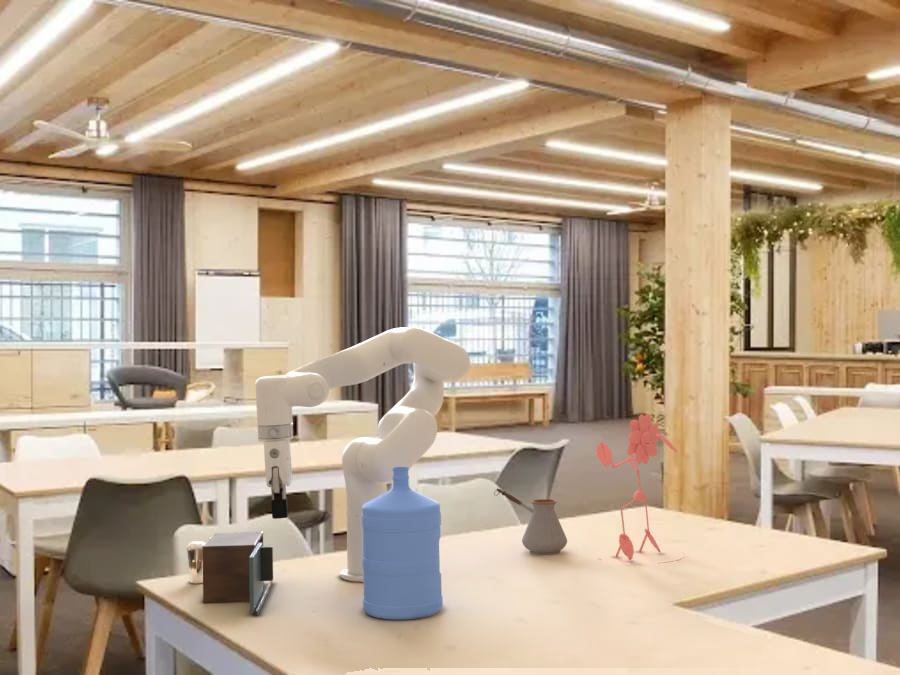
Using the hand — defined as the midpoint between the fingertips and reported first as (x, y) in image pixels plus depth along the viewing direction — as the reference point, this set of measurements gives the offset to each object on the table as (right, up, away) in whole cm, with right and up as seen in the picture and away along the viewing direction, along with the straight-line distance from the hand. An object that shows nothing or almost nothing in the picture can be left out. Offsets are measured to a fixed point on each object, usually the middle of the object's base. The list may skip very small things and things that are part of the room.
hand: (280, 517), depth 213 cm
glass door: (-1, -15, -13) cm, 20 cm away
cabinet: (-8, -16, -8) cm, 19 cm away
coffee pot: (+57, -16, +40) cm, 72 cm away
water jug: (+27, -15, -19) cm, 37 cm away
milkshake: (-20, -17, +9) cm, 27 cm away
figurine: (+85, -15, +26) cm, 90 cm away
